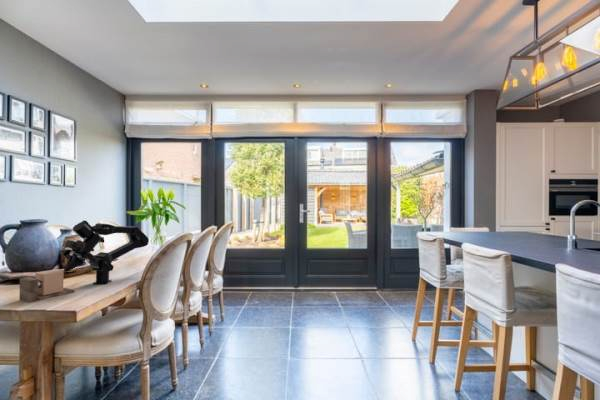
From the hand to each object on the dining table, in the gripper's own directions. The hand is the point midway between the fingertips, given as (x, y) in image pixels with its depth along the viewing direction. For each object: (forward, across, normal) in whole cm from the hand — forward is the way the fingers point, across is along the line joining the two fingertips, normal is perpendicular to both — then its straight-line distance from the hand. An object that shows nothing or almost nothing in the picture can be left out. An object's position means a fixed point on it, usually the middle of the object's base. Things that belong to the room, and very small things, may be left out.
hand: (64, 271), depth 153 cm
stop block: (+12, 0, +1) cm, 12 cm away
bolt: (+10, 0, -4) cm, 11 cm away
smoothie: (-12, -37, +25) cm, 46 cm away
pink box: (+10, 0, +1) cm, 10 cm away
